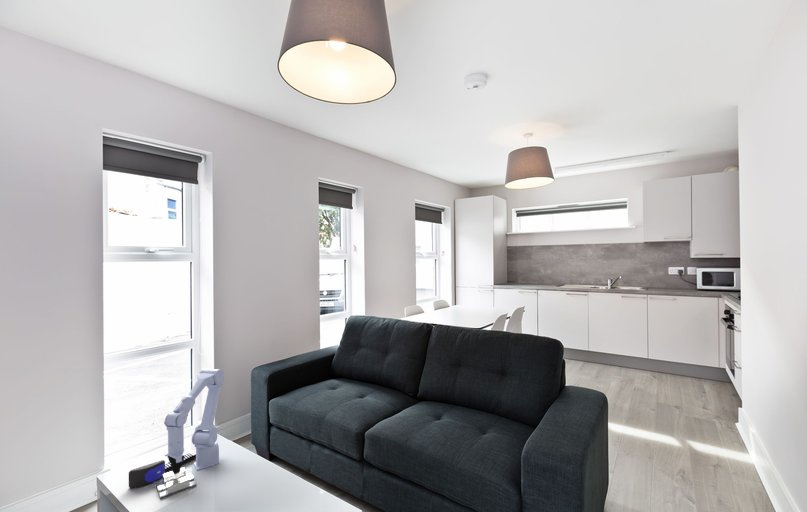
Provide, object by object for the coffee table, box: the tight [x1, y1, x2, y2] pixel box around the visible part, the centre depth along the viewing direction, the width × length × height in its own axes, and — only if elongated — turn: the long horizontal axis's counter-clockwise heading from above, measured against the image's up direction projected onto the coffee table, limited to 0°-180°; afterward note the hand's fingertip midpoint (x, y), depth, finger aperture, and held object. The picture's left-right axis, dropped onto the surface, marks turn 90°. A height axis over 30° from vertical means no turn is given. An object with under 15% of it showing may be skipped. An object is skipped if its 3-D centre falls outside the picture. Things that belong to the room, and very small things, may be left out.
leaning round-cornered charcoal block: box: [128, 459, 166, 489], centre depth 162 cm, size 13×4×8 cm, turn 132°
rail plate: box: [155, 466, 197, 500], centre depth 159 cm, size 13×12×5 cm
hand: (176, 472), depth 159 cm, fingers closed
